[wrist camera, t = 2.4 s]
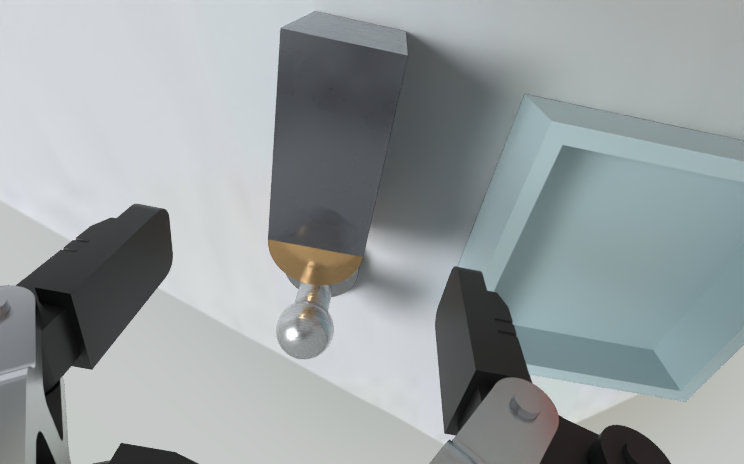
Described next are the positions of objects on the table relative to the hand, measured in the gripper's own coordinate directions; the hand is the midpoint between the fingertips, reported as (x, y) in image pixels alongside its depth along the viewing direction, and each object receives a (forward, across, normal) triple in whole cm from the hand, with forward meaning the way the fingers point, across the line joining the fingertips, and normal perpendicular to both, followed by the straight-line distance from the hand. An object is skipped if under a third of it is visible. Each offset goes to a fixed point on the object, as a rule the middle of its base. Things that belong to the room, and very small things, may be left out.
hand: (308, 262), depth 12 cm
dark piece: (+11, 0, -1) cm, 11 cm away
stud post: (+11, 0, +8) cm, 13 cm away
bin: (+11, -15, +3) cm, 19 cm away
